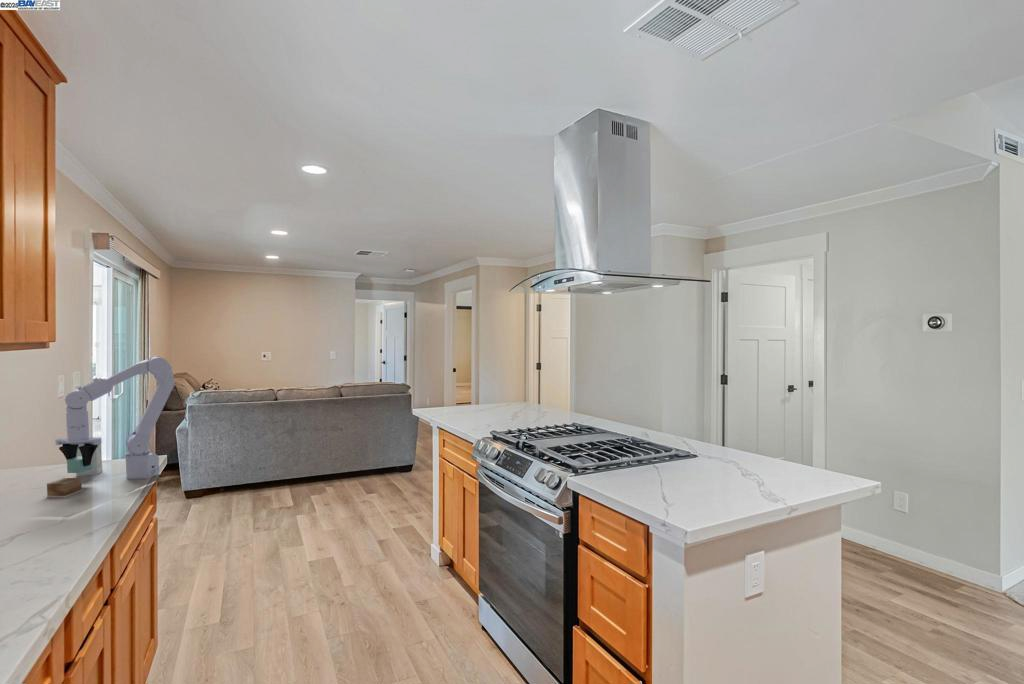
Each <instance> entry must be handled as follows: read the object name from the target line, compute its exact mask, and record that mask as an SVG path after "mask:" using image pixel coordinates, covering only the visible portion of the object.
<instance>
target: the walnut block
mask: <svg viewBox="0 0 1024 684" xmlns="http://www.w3.org/2000/svg"><path fill="white" fill-rule="evenodd" d="M82 489H83V487H82V477H63V478H59V479H57V480H53V481H50V482H47V483H46V496H66V497H68V496H67V495H69V496H71V495H70V494H72V493H74V494H76V493H75V492H77V493H79V492H78V491H80V490H82ZM82 491H83V490H82ZM80 492H81V491H80ZM72 495H73V494H72Z"/></svg>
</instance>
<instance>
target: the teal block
mask: <svg viewBox="0 0 1024 684" xmlns="http://www.w3.org/2000/svg"><path fill="white" fill-rule="evenodd" d="M66 469H67V474H76V473H82V472H85V471H88V470H91V469H92V463H91V464H90V465H88V466H83V461H82V456H78V457H75V458H71V459H68V460H66Z"/></svg>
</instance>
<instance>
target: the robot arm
mask: <svg viewBox="0 0 1024 684" xmlns="http://www.w3.org/2000/svg"><path fill="white" fill-rule="evenodd" d="M149 373H150V374H151V375H153V376H154V379H155V381H156V382H157V386H156V388H155V389H154V392H153V395H151V398H150V401H148V404H147V407H146V408H145V410H144V412H143V414H142V416H141V419H140V420H139V422H138V424H137V425H136V427H135V429H134V430H133V432H132V433H130V435H129V436H128V437H126V439H125V445H126V447H127V449H128V450H127V451H126V452H125V470H126V471H125V472H126V473H125V474H126V479H129V480H137V479H150V478H153V477H154V476H160V475H161V474H162V473H161V472H160V459H159V456H158V454H157V453H153V452H151V449H149V448H150V440H151V436H152V433H153V429H154V428H155V426H156V423H157V421H158V419H159V417H160V416H161V413H162V412H163V409H164V407H165V405H166V403H167V401H168V399H169V397H170V395H171V392H172V390H173V389H174V387H175V384H176V381H175V377H174V374H173V367H172V366H171V364H170V362H168V360H167V359H165V358H164V357H160V356H151V357H150V358H148V359H144V360H142V361H139V362H137V363H134V364H132V365H130V366H128V367H127V368H125V369H123V370H120V371H119V372H117V373H115V374H113V375H111V376H110V377H103V376H102V377H99V378H98V377H94V378H93V379H92V381H91V382H89V383H87V384H84V385H83V386H81V385H80V386H78V387H77V389H75V390H71V391H70V392H68V393H67V394H66V396H65V398H64V401H65V405H66V409H65V410H66V413H65V416H66V418H65V419H66V420H65V421H66V434H67V436H66V437H60V438H56V439H55V446H59V447H58V449H59V450H60V451H61V453H62V454H63V456H64V458H65V460H66V461H67V460H68V459H71V458H75V457H77V449H78V446H79V444H84V445H83V446H80V447H79V450H80V452H81V455H82V461H83V466H88V465H90V464H91V460H92V457H93V454H94V452H95V450H96V448H97V447H98V444H101V445H102V444H103V443H102V442H103V441H102V437H101V438H93V437H92V436H90V427H89V426H90V425H89V424H90V423H89V422H90V421H89V411H88V410H87V409H88V407H87V406H88V405H87V404H88V403H89V402H93V401H95V400H97V399H99V398H101V397H103V396H105V395H107V394H109V393H111V392H112V391H113V389H114V386H116V385H118V384H121V383H123V382H124V381H126V380H129V379H131V378H134V377H135V376H139V375H148V374H149ZM60 445H62V446H60Z"/></svg>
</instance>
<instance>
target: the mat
mask: <svg viewBox="0 0 1024 684" xmlns="http://www.w3.org/2000/svg"><path fill="white" fill-rule="evenodd" d="M84 490H85V488H84V489H83V488H82V490H80V491H78V492H75V493H72V494H70V495H67V496H47V495H45V496H44V497H45V498H47V497H50V498H51V497H53V498H57V497H59V498H66V497H69V496H71V495H75V494H77V493H80V492H81V491H84Z"/></svg>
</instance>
